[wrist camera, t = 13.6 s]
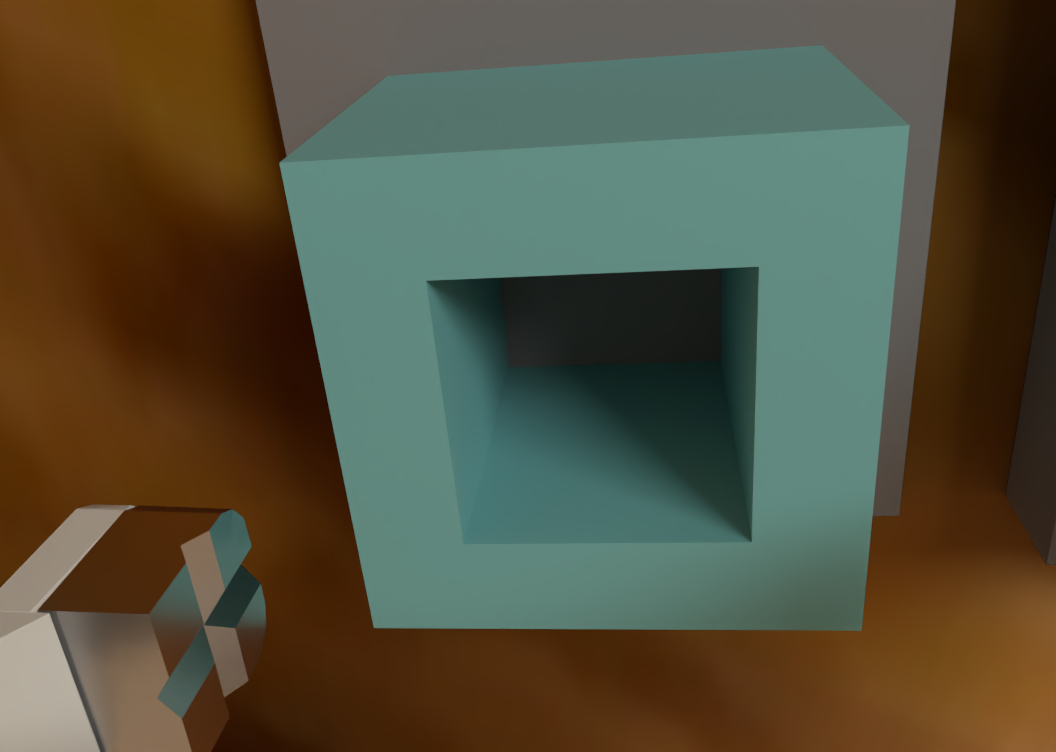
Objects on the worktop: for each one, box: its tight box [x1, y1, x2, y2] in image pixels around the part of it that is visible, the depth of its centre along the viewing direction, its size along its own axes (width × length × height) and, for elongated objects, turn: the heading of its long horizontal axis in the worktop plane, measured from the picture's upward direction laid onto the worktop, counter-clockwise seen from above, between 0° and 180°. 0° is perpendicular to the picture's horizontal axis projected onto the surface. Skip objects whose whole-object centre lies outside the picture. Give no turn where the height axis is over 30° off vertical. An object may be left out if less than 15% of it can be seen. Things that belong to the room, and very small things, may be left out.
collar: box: [279, 45, 910, 631], centre depth 13 cm, size 6×6×5 cm
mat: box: [255, 0, 956, 516], centre depth 16 cm, size 10×10×1 cm
